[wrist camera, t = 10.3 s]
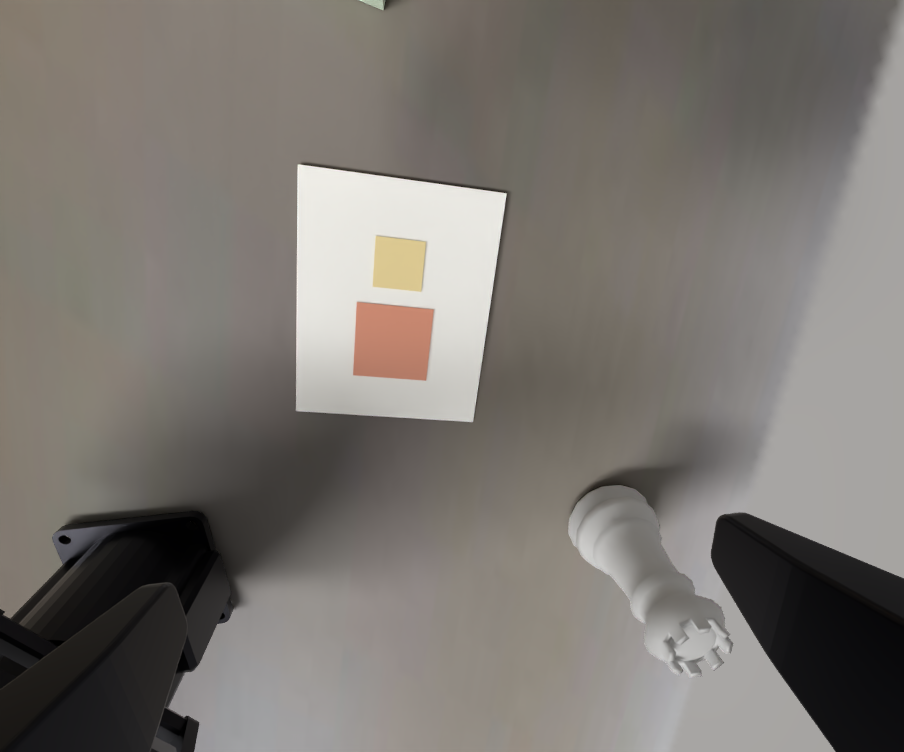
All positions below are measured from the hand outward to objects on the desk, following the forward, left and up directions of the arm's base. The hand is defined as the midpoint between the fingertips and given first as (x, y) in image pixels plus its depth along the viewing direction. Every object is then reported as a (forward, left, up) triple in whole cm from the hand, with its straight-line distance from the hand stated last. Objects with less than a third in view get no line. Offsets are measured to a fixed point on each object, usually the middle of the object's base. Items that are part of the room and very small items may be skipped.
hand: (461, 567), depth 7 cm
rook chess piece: (+9, -10, -13) cm, 19 cm away
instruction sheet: (-1, +2, -13) cm, 13 cm away
